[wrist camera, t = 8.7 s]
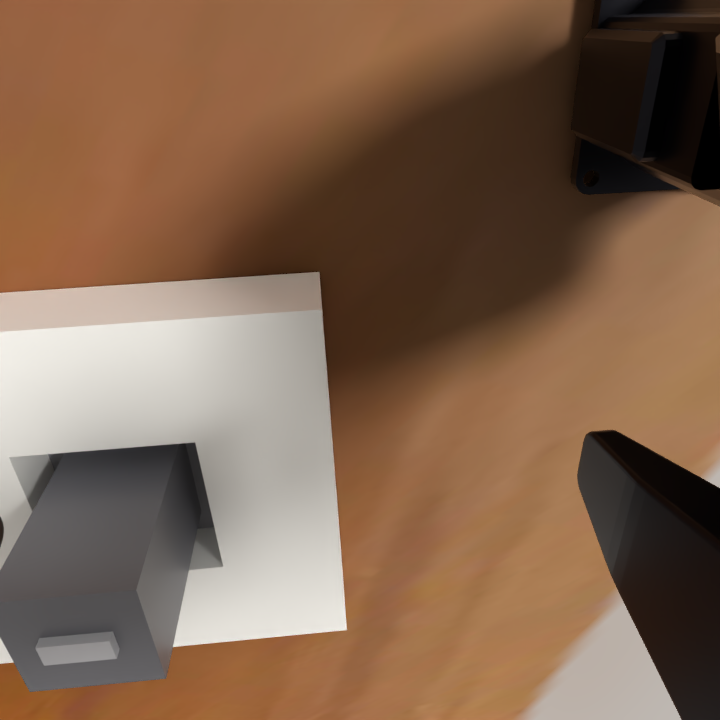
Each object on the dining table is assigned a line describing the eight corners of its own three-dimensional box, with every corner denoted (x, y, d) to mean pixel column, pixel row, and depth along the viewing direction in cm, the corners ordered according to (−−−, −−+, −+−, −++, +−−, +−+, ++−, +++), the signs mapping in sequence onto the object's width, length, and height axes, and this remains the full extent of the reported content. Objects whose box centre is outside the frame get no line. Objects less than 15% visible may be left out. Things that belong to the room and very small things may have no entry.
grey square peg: (182, 431, 22) (133, 599, 16) (201, 510, 24) (164, 688, 18) (71, 439, 22) (-24, 613, 15) (99, 519, 24) (25, 701, 17)
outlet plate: (319, 271, 20) (321, 309, 17) (342, 572, 28) (346, 629, 25) (-140, 302, 19) (-209, 346, 17) (13, 603, 27) (-18, 665, 24)
